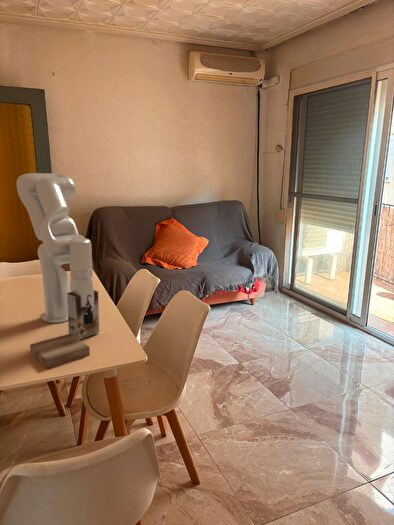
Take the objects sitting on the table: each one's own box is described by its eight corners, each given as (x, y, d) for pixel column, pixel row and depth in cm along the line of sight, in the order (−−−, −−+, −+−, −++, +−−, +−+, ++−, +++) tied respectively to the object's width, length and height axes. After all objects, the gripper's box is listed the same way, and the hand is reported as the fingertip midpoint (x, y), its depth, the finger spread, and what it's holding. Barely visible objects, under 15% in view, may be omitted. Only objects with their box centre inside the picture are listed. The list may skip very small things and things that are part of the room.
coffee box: (78, 340, 140) (76, 297, 136) (68, 335, 143) (65, 293, 140) (100, 332, 146) (98, 291, 143) (89, 327, 150) (87, 287, 146)
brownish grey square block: (30, 353, 131) (30, 344, 130) (71, 341, 140) (70, 333, 139) (47, 368, 121) (46, 359, 120) (89, 355, 130) (89, 346, 129)
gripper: (60, 269, 143) (63, 315, 147) (82, 281, 131) (85, 331, 135) (80, 266, 148) (82, 311, 152) (103, 277, 135) (105, 325, 140)
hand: (83, 320), depth 144 cm, fingers closed on coffee box, 6 cm apart
